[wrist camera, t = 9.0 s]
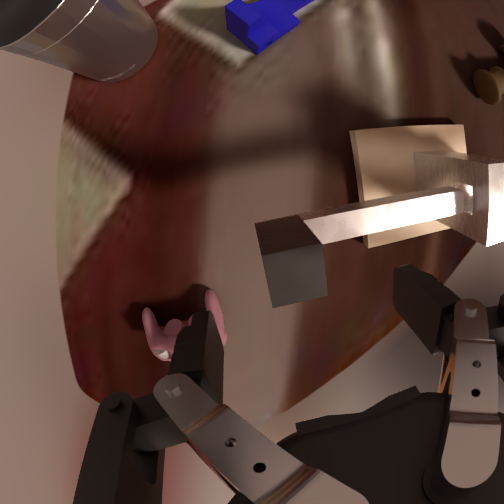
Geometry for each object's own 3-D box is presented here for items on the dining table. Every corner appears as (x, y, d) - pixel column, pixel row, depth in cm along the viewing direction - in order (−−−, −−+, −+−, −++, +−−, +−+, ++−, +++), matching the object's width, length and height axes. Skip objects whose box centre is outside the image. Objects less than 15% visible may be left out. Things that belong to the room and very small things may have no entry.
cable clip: (256, 55, 25) (261, 35, 19) (226, 29, 24) (224, 6, 18) (333, 3, 23) (351, -20, 17) (305, -21, 21) (318, -47, 16)
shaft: (253, 216, 22) (261, 256, 14) (449, 180, 21) (512, 200, 14) (261, 253, 23) (272, 307, 15) (450, 212, 22) (510, 240, 15)
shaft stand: (349, 130, 28) (420, 127, 15) (455, 124, 28) (534, 130, 15) (363, 243, 33) (425, 299, 20) (461, 220, 32) (531, 255, 19)
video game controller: (157, 323, 37) (158, 371, 32) (139, 305, 34) (137, 357, 29) (226, 304, 36) (234, 354, 31) (213, 283, 33) (220, 338, 28)
